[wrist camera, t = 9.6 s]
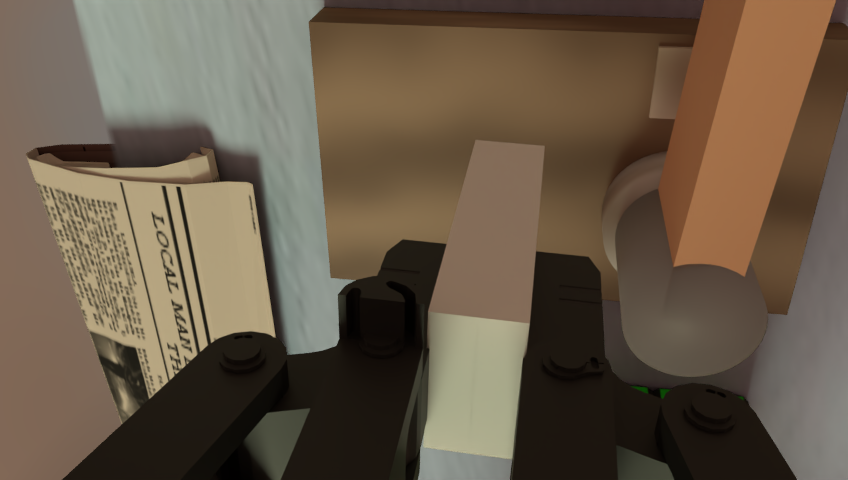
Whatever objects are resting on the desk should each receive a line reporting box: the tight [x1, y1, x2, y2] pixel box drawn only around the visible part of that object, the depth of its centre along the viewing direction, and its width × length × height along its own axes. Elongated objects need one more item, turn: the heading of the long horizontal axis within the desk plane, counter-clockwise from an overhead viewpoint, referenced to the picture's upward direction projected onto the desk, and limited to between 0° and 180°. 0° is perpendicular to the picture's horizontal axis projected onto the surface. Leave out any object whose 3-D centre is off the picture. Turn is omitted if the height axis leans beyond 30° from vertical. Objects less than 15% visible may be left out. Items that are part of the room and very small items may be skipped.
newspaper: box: [26, 144, 276, 424], centre depth 49 cm, size 35×12×4 cm, turn 4°
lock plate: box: [309, 7, 848, 315], centre depth 36 cm, size 13×22×4 cm, turn 90°
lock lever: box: [615, 0, 836, 377], centre depth 29 cm, size 5×14×6 cm, turn 176°
